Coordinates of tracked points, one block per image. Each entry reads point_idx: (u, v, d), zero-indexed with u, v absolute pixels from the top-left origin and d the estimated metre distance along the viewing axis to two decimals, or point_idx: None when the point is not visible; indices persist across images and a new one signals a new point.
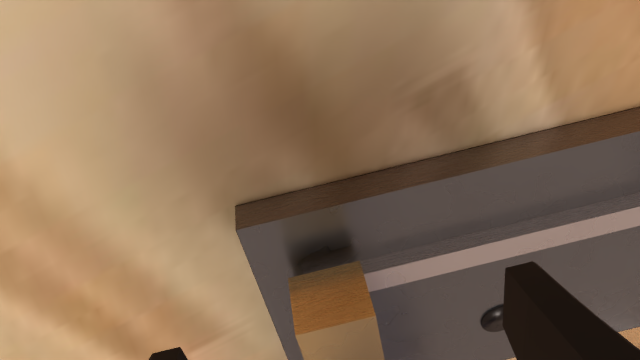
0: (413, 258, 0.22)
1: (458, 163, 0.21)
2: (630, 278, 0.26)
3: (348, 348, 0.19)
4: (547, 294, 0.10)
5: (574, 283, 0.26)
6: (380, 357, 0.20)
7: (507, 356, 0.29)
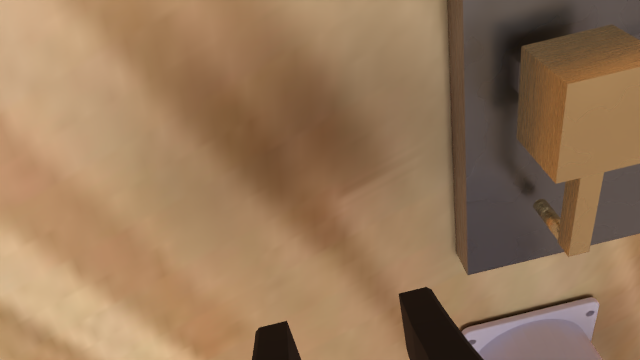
0: None
1: None
2: None
3: (619, 115, 0.15)
4: (430, 323, 0.10)
5: None
6: None
7: None
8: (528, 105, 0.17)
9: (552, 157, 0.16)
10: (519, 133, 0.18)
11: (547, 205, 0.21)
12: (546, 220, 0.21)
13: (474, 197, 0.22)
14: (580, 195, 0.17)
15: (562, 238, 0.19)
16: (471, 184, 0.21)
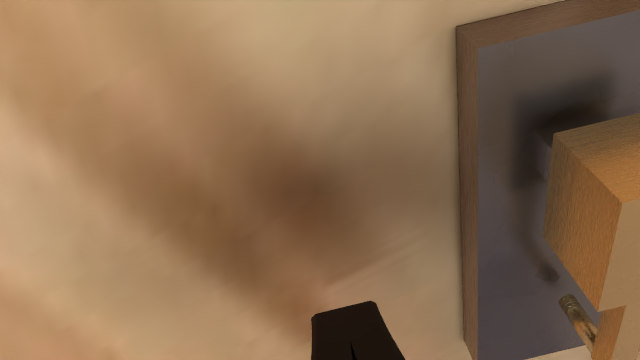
0: None
1: None
2: None
3: None
4: (368, 338, 0.10)
5: None
6: None
7: None
8: (561, 205, 0.13)
9: (594, 279, 0.12)
10: (546, 232, 0.15)
11: (576, 304, 0.17)
12: (576, 324, 0.17)
13: (487, 291, 0.18)
14: (626, 317, 0.14)
15: (598, 356, 0.16)
16: (484, 278, 0.17)
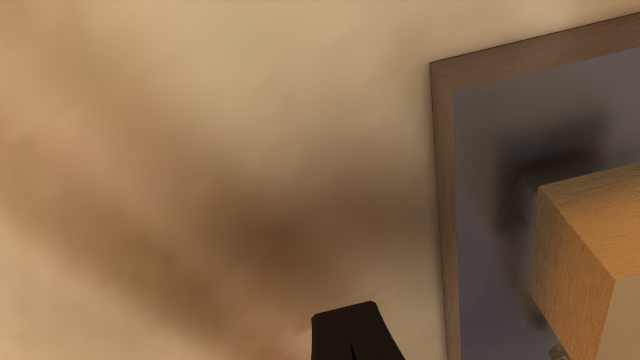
0: None
1: None
2: None
3: None
4: (368, 338, 0.10)
5: None
6: None
7: None
8: (548, 265, 0.12)
9: (584, 353, 0.11)
10: (533, 288, 0.13)
11: (567, 356, 0.16)
12: None
13: (471, 341, 0.16)
14: None
15: None
16: (467, 328, 0.16)
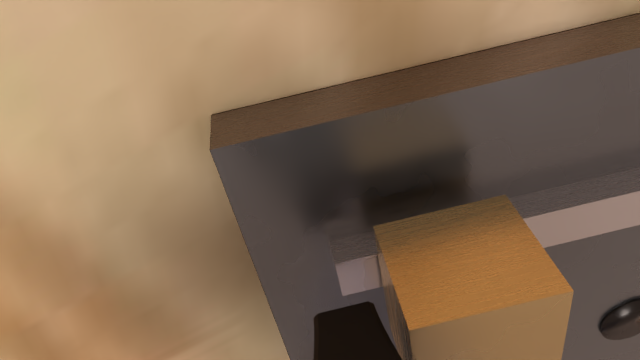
0: (525, 212, 0.12)
1: (618, 35, 0.11)
2: None
3: (502, 355, 0.10)
4: (365, 338, 0.10)
5: None
6: None
7: None
8: (389, 302, 0.12)
9: None
10: (390, 323, 0.13)
11: None
12: None
13: None
14: None
15: None
16: None
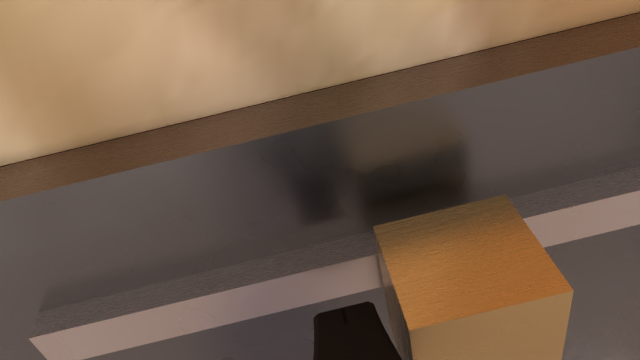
0: (224, 285, 0.12)
1: (290, 113, 0.11)
2: (612, 310, 0.17)
3: (501, 355, 0.10)
4: (365, 338, 0.10)
5: None
6: None
7: None
8: (389, 303, 0.12)
9: None
10: (390, 323, 0.13)
11: None
12: None
13: None
14: None
15: None
16: None
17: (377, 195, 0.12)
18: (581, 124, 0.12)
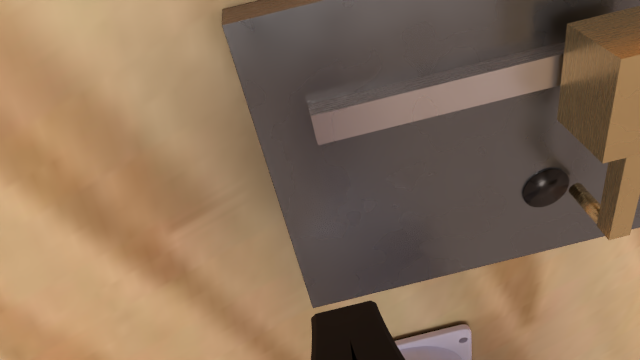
0: (447, 79, 0.17)
1: None
2: None
3: None
4: (368, 338, 0.10)
5: None
6: None
7: (550, 245, 0.24)
8: (573, 84, 0.17)
9: (599, 136, 0.16)
10: (560, 114, 0.18)
11: (584, 189, 0.21)
12: (583, 204, 0.20)
13: (298, 234, 0.21)
14: (625, 176, 0.17)
15: (603, 221, 0.19)
16: (291, 222, 0.21)
17: (559, 12, 0.17)
18: None
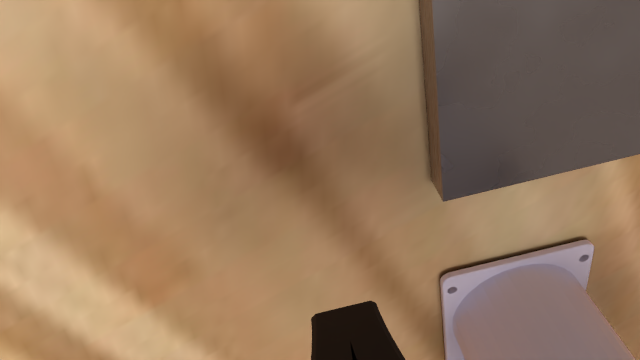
0: None
1: None
2: None
3: None
4: (368, 338, 0.10)
5: None
6: None
7: None
8: None
9: None
10: None
11: None
12: None
13: (447, 99, 0.19)
14: None
15: None
16: (442, 82, 0.18)
17: None
18: None
